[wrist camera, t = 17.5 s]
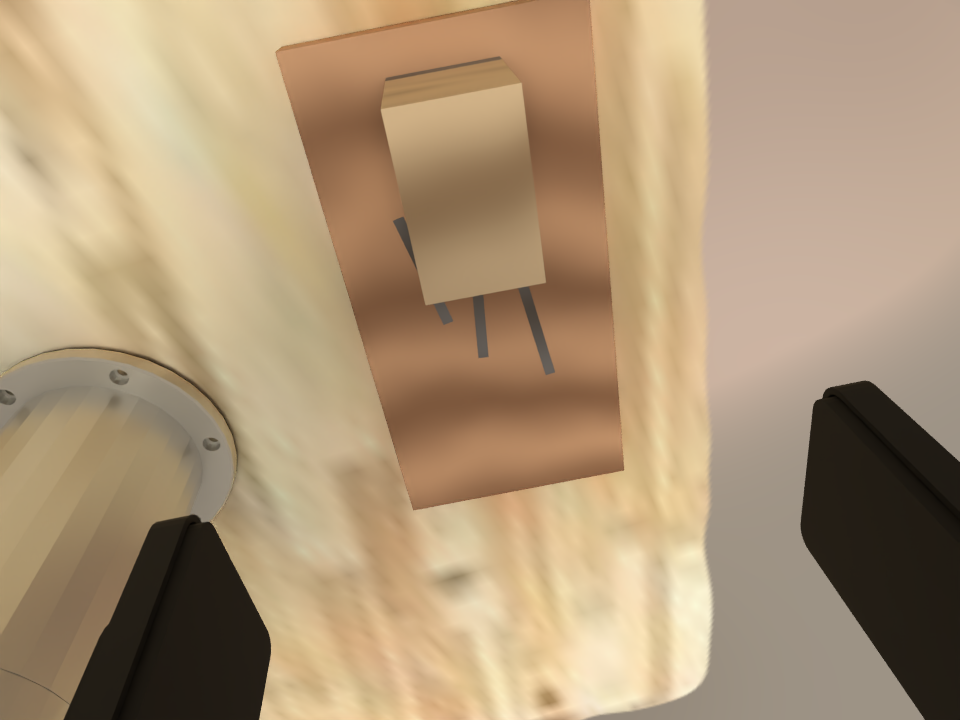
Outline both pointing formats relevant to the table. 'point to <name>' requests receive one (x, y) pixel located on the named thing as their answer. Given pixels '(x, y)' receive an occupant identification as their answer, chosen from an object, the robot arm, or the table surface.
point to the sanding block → (465, 178)
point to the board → (484, 318)
